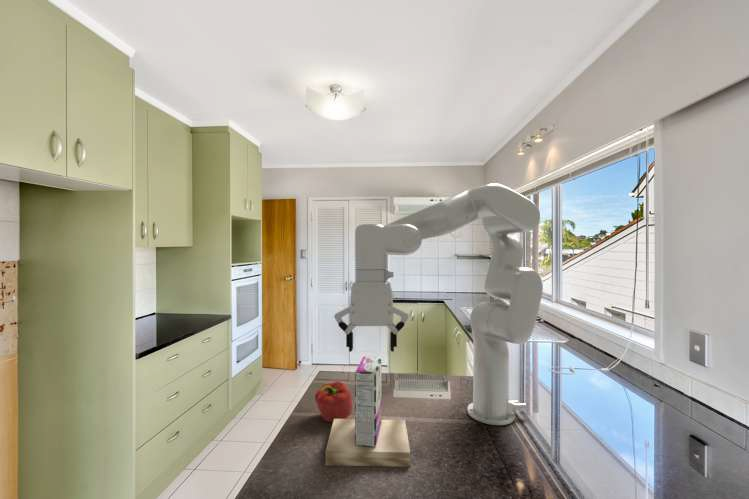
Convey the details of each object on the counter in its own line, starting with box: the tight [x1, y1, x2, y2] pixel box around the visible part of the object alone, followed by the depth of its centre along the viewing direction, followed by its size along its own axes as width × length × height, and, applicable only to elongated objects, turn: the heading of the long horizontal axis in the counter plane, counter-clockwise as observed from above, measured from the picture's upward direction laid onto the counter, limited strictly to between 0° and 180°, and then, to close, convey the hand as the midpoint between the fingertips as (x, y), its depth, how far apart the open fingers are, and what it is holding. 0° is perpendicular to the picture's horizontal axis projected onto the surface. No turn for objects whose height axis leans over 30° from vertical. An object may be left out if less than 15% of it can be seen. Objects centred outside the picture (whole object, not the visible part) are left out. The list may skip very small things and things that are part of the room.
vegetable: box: [314, 381, 353, 423], centre depth 92 cm, size 11×10×10 cm
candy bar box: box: [354, 355, 382, 447], centre depth 79 cm, size 11×5×16 cm, turn 172°
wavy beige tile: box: [324, 418, 411, 468], centre depth 79 cm, size 18×14×3 cm
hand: (371, 349), depth 79 cm, fingers open, 9 cm apart
